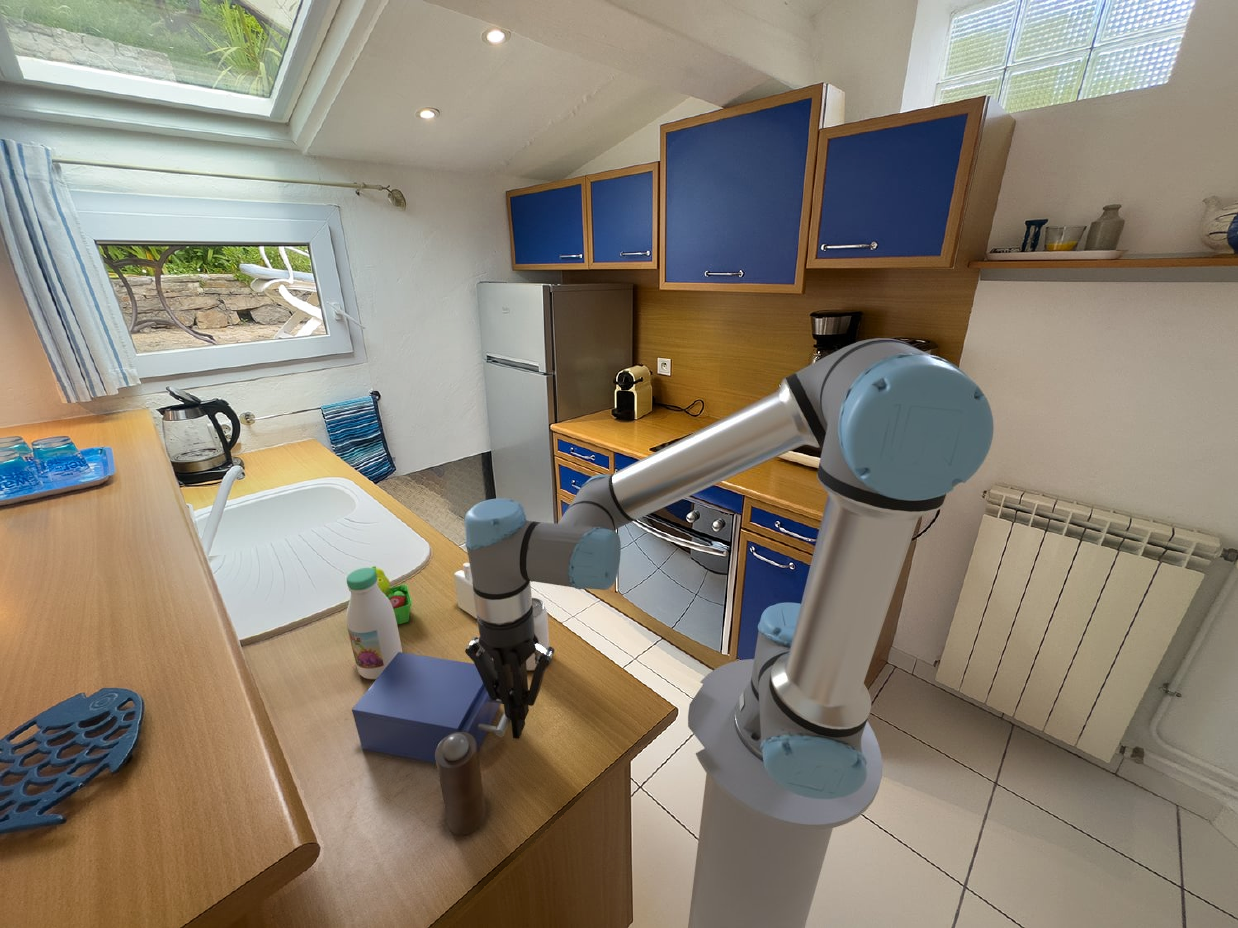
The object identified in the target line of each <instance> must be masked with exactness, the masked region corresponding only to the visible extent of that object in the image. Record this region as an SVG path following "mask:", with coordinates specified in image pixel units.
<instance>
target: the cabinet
mask: <svg viewBox="0 0 1238 928" xmlns="http://www.w3.org/2000/svg"><path fill="white" fill-rule="evenodd" d="M402 652H403V651H402ZM402 652H398V653H397V654H396V656H395V657H394V658H393V659H392V661H391V662H390V663H389V664H388V666H387V667H386V668H385V669H384V671H383V672H382V673H381V674H380V675H379V677H378V678H377V679H374V682H372V684H371V685H370V686H369V688H368V689H367V690H366V691H365V693H364V694H363V695H362V696H361V698H360V699H358V701H357V703H355V704H354V706H353V707H352V708H351V712H352V717H353V719H354V723H355V727H356V731H357V735H358V738H359V743H360V746H361V749H362V750H366V751H371V752H376V753H381V754H385V755H391V756H397V757H401V758H407V759H411V760H417V761H423V762H428V763H432V764H436V760H435V751H436V748H437V746H438V745H439V743H440V742H441V741H442V740H443V739H444V738H445V737H447V736H448V735H450V734H452V733H455V732H461V727H462V725H463V723H464V722H465V720H466V718H467V716H468V714H469V712H470V711H471V709H472V707H473V705H474V703H475V701H476V700H477V698H478V696H479V694H480V692H481V690H483V688H484V683H483V681H482V679H481V677H480V675H479V673H478V670H477V668H476V666H475V664H474V663H472V662H465V661H458V660H453V659H445V658H440V657H434V656H427V655H421V654H415V653H407V652H403V653H402Z"/></svg>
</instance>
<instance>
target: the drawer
mask: <svg viewBox="0 0 1238 928" xmlns="http://www.w3.org/2000/svg"><path fill="white" fill-rule="evenodd" d="M494 686H495V685H494ZM501 705H503V704H502V702H501V700H499V699H497V700H492V699H491V698H490V696H489V694H488V692H487V690H486V688H485V686H484V688H483V690H481V692H480V694H479V696H478V698H477V700H476V701H475V703H474V705H473V707H472V709H471V711H470V712H469V714H468V716H467V718H466V720H465V722H464V723H463V725H462V727H461V732H467V733H470V734H471V735H472V736H473V737H474V738H475V740H476V743H477V750H478V751H479V750H480V747H481V745H482V744H483V741H484V739H485V738H486V735H487V734H488V732H491V733H495V735H496V736H497V737H501V738H503V737H504V736H505V734H506V731H507V729H508V728H509V725H510V724H511V718H507V717H506V716H505V711H504V712H503V714H502V716H501V718H500V720H499V722H498V725H497V726H495V725H492V722H493V721H494V719H495V717H496V715H497V713H498V711H499V708H500V706H501Z"/></svg>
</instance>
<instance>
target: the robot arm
mask: <svg viewBox="0 0 1238 928" xmlns="http://www.w3.org/2000/svg"><path fill="white" fill-rule="evenodd" d="M994 425H995V424H994V416H993V412H992V408H991V404H990V403H989V400H988V398H987V397H986V395H985V394H984V392H983V390H982V389H981V388H980V386H979V385H978V384H977V383H976V382H975V381H974V380H973V379H972V378H971V377H969V375H968V374H967V373H966V372H965V371H963V370H962V369H960V368H959V367H958V366H957V365H956V364H954V363H952V361H951V362H950V361H949V360H946V359H944V358H942V357H939V356H938V355H937V356H936V355H932V354H929V353H927V352H924V351H922V350H920V349H918V348H917V347H915V346H914V345H911V344H910V343H908V342H905V341H902V340H899V339H895V338H889V337H887V338H886V337H885V338H882V337H881V338H880V337H876V338H869V339H865V340H860V341H856V342H854V343H851V344H849V345H847V346H843V347H842V348H840V349H838V350H836V351H834V352H832V353H830V354H828V355H826V356H824V357H823V358H821V359H819V360H816V361H815V362H813V363H811V364H809V365H808V366H805V367H804V368H802V369H800V370H798V371H796V372H794V373H792V374H790V375H788V376H786V377H784V378H782V381H781V383H780V386H779V387H778V389H777V391H775V392H773V393H771V394H769V395H767V396H765V397H763V398H761V399H758V400H757V401H755V402H753V403H751V404H749V405H747V406H745V407H743V408H741V409H739V410H737V411H735V412H733V413H731V414H729V415H726V416H725V417H723V418H721V419H718V420H717V421H715V422H713V423H711V424H709V425H707V426H705V427H703V428H701V429H699V430H697V431H694V433H691V434H689V435H687V436H686V437H685V436H684V438H681V439H679V440H677V441H675V442H673V443H671V444H669V445H667V446H666V447H663V448H661V449H659V450H657V451H656V452H653V453H652V454H650V455H648V456H645V457H643V458H642V459H639V460H637V461H636V462H633V463H632V464H629V465H628V466H625V467H624V468H622V469H620V470H618V471H616V472H614V473H611V474H604V473H603V474H602V473H601V474H596V475H593V476H591V477H590V478H589V479H588V480H587V481H585V483H583V484H582V485H581V486H580V488H579V489H578V490H577V492H576V494H575V496H574V498H573V499H572V502H571V503H570V504H569V505H568V507H567V509H566V510H565V512H564V514H563V515H562V517H561V518H560V519H559V521H558V522H557V523H552V522H543V521H536V520H535V521H534V520H527V514H526V512H525V508H524V506H523V505H522V504H521V503H520V502H519V501H514V499H511V498H504V497H503V498H498V497H497V498H491V499H487V500H486V499H485V500H483V501H481V502H478V503H476V504H474V505H473V506H472V507H471V508H470V509H469V510H468V511H467V512H466V514H465V516H464V533H465V534H464V535H465V542H464V544H465V548H466V551H467V557H468V563H470V568H471V574H472V581H473V582H472V584H473V592H474V600H475V608H476V613H477V619H476V620H477V627H478V634H479V637H477V636H473V637H472V638H471V640H470V641H469V643H468V645H467V646H466V648H465V649H464V653H465V654H466V655H467V656H468V657H469V659H471V661H472V662H473V664H475V666H476V668H477V670H478V673H479V675H480V677H481V679H482V681H483V683H484V686H485V688H486V690H487V692H488V694H489V696H490V698H491V699H492V700H497V699H499V700H501V702H502V704H501V705H503V710H504V712H505V716H506V717H507V718H511V721H510V725H511V732H512V738H513V739H516V740H520V737H521V735H522V732H523V731H524V728H525V726H526V719H527V717H528V714H529V712H530V707H533V706H534V705H535V704H536V700H537V699H538V696H539V693H540V691H541V687H542V683H543V679H544V676H545V672H546V669H547V668H548V667H549V665H550V663H551V661H552V659H553V657H554V656H553V655H554V654H555V648H554V647H552V646H549V647H547V648H546V649H545V648H544V647H542V646H541V645H539V640H538V638H537V637H536V635H535V633H534V615H533V606H532V598H533V597H532V586H531V583H533V582H534V583H541V584H548V585H554V586H555V585H556V586H561V587H567V588H573V589H576V590H585V589H587V590H601V591H605V590H609V589H610V588H612V587H613V586H614V584H615V583H616V580H617V577H618V572H619V568H620V563H621V555H622V553H621V552H622V551H621V550H622V547H621V546H622V544H621V537H620V535H619V533H618V532H616V531H617V530H618V529H619V528H621V527H624V526H626V525H628V524H630V523H633V522H635V521H637V520H639V519H641V518H643V517H645V516H648V515H650V514H652V513H654V512H656V511H659V510H661V509H663V508H665V507H668V506H670V505H672V504H674V503H677V502H679V501H681V500H684V499H686V498H688V497H690V496H693V495H695V494H697V493H699V492H701V491H703V490H706V489H708V488H710V487H713V486H715V485H717V484H719V483H721V482H724V481H726V480H728V479H731V478H733V477H736V476H738V475H739V474H743V473H744V472H746V471H749V470H751V469H753V468H755V467H757V466H760V465H762V464H765V463H767V462H769V461H771V460H773V459H776V458H779V457H780V456H783V455H785V454H787V453H789V452H791V451H794V450H796V449H798V448H801V447H802V446H806V445H807V446H810V447H813V448H821V447H822V449H821V453H820V459H819V464H818V468H817V472H816V479H817V481H818V483H819V484H820V486H821V487H822V488H823V490H824V491H825V492H826V493H827V497H826V501H825V505H824V508H823V512H822V516H821V521H820V525H819V529H818V533H817V537H816V540H815V541H816V542H815V545H814V548H813V549H814V551H813V553H812V557H811V562H810V565H809V570H808V574H807V578H806V583H805V586H804V591H803V594H802V599H801V603H798V602H779V603H776V604H774V605H769V606H768V607H766V609H764V611H763V612H762V614H761V617H760V619H759V620H760V621H759V622H758V624H757V630H758V633H757V640H756V645H755V650H754V651H755V652H754V658H753V659H754V664H753V670H752V677H751V681H750V682H749V684H748V685H747V686H746V688H745V689H744V691H743V692H742V694H741V695H740V697H739V699H738V701H737V703H736V707H735V714H734V724H735V728H736V732H737V734H738V736H739V738H740V740H741V741H742V743H743V744H744V745H745V747H746V748H747V749H748V750H749V751H750V752H751V753H752V754H753V755H754V756H756V757H757V758H758V759H760V760H761V761H763V762H764V766H765V769H766V771H767V773H768V774H769V776H770V777H771V778H772V779H773V780H774V781H776V782H777V783H778V784H779V785H780V786H781V787H782V788H784V789H786V790H788V791H790V792H792V793H794V794H797V795H800V796H804V797H808V798H813V799H835V798H843V797H846V796H849V795H851V794H853V793H855V792H857V791H858V790H859V789H860V788H861V787H862V786H863V785H864V783H865V781H866V777H867V770H866V763H867V761H866V758H865V756H864V755H863V754H862V749H861V738H862V734H863V731H864V728H865V725H866V722H867V721H868V720H869V716H870V713H871V709H872V697H871V694H870V692H869V690H868V688H867V686H866V684H865V680H866V678H867V675H868V671H869V668H870V665H871V662H872V659H873V656H874V654H875V651H876V647H877V644H878V641H879V639H880V636H881V633H882V629H883V626H884V622H885V620H886V617H887V614H888V612H889V607H890V605H891V602H892V599H893V596H894V593H895V590H896V588H897V585H898V580H899V578H900V575H901V571H902V570H903V566H904V563H905V560H906V557H907V554H908V550H909V549H910V545H911V542H912V539H913V536H914V533H915V530H916V527H917V523H918V520H919V519H920V518H921V517H924V516H927V515H929V514H932V513H935V512H937V511H939V510H941V508H942V507H943V505H944V503H945V499H946V497H947V494H949V493H951V492H953V490H954V488H955V487H956V486H957V485H959V484H961V483H963V484H965V483H967V482H968V481H969V480H970V479H971V478H972V477H973V476H974V475H975V474H976V473H977V472H978V470H979V469H980V468H981V466H982V465H983V464H984V462H985V460H986V459H987V456H988V454H989V452H990V449H991V446H992V443H993V439H994V438H993V437H994V430H995V429H994ZM533 653H534V654H535V664H536V667H535V670H533V674H532V677H531V680H530V685H529V680H528V670H527V666H526V661H527V659H528V658H529V657H530V656H531V655H532V654H533ZM494 685H495V686H494ZM529 706H530V707H529Z"/></svg>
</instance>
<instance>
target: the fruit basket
mask: <svg viewBox="0 0 1238 928" xmlns="http://www.w3.org/2000/svg"><path fill="white" fill-rule="evenodd" d="M371 568H372V569H374V570H375V571H376V574H377V579H378V584H377V585H378V587H379V589H380V590H381V591H382V592H383V593H384V594H385V595H386V596H387V598H388V599H389V600H390V602H391V604H392V607H393V610H394V613H395V618H396V622H397V626H398V625H402V624H406V623H408V622H409V621H410V611H411V607H412V604H413V603H412V598H411V595H410V591H409V586H408V585H407V584H400V585H396V586H394V587H390V586H391V582H390V580H389V578H388V577H387V575H386V574H385V572H384V570H383V569H381V568H377V566H375V565H373V566H372V567H371ZM349 602H350V599H349V600H348V602H347V606H348V605H349Z"/></svg>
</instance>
